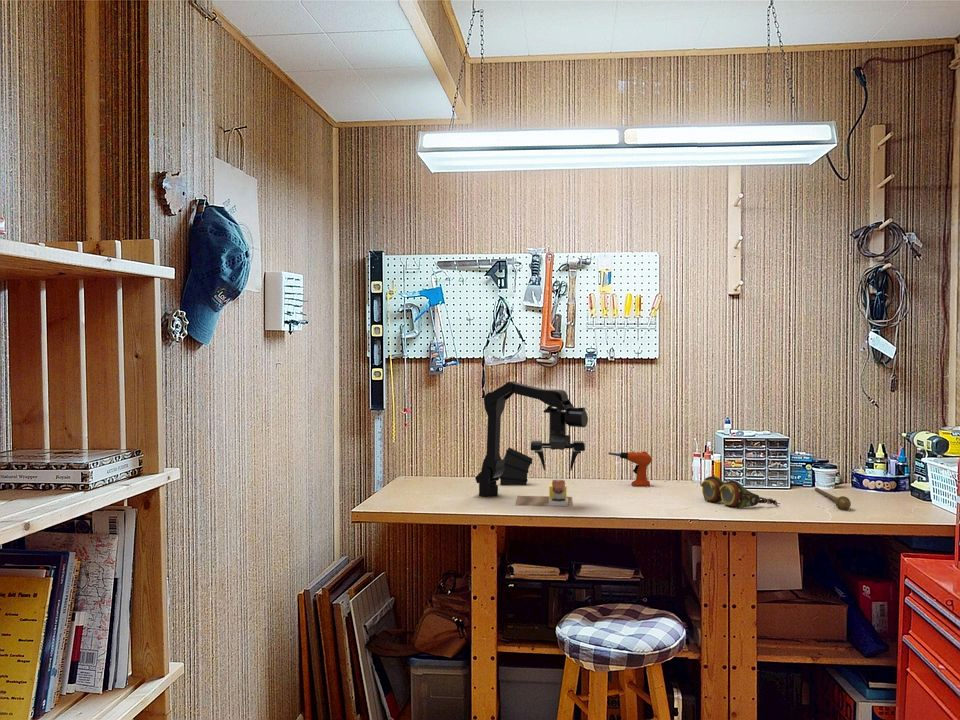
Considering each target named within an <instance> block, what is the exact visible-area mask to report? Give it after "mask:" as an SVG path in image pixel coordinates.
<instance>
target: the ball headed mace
mask: <svg viewBox="0 0 960 720" xmlns="http://www.w3.org/2000/svg"><path fill="white" fill-rule="evenodd" d="M814 491H815V492H817V493H819V494H820V495H822V496H825V497H826V498H827V499H830V500H831V501H833V502H835V507H836V508H837V509H839V510H841V511H842V510H843V511H846V510H848V509H850V508H851V506H852V505H851V504H852V502H851V501H850V499H849V498H848V497H847V496H843V495H841V496H839V497H838V496H835V495H832V494H830V493H828V492H826V491H825V490H823V489H821V488H819V487H814Z"/></svg>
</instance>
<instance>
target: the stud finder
mask: <svg viewBox="0 0 960 720" xmlns="http://www.w3.org/2000/svg"><path fill="white" fill-rule="evenodd" d="M549 496H550V497H554V491H552V482H549ZM566 497H567V482H565V491H564V492H563V498H566Z"/></svg>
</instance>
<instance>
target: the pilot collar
mask: <svg viewBox="0 0 960 720" xmlns="http://www.w3.org/2000/svg"><path fill="white" fill-rule="evenodd" d="M565 506H568V498H563V501H554V497H549V506H548V507H565Z"/></svg>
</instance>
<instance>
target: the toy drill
mask: <svg viewBox="0 0 960 720" xmlns="http://www.w3.org/2000/svg"><path fill="white" fill-rule="evenodd" d="M607 454H608V455H611V456H617V457H619V458H620V459H624V460H627V461H629V462H630V463H631V462H632V463H634V464H636V465H635V467H634V469H632V472H634V474H635V475H636V476H635V477H636V478H635V480H633V481H631V486H632V487H639V488H642V487H643V488H644V487H647V486H648V487H650V486H651V483H650V482H651V481H650V480H649V479H648V477H647V469H648V466H649V465H650V464H651V463H652V456H651V454H650V453H648V451H645V450H644V451H642V452H640V451H636V452H635V451H630V452H629V451H628V452H620V453H619V452H618V453H615V452H611V451H610V452H608V453H607Z"/></svg>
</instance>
